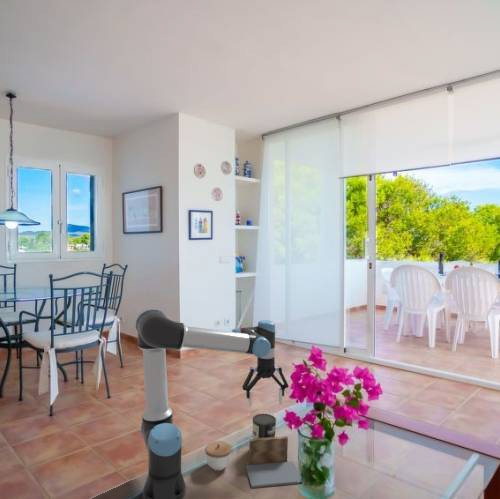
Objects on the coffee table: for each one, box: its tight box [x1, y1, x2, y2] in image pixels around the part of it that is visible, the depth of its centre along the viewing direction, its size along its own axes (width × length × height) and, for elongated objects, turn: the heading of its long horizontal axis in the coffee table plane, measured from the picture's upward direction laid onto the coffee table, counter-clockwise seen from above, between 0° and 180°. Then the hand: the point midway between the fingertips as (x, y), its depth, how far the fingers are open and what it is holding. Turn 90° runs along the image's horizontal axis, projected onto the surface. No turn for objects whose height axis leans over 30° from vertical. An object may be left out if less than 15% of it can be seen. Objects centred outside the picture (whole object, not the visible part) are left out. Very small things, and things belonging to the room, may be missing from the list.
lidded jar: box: [204, 440, 233, 472], centre depth 163 cm, size 11×11×9 cm
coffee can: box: [251, 413, 277, 439], centre depth 175 cm, size 10×10×14 cm
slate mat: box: [245, 461, 299, 489], centre depth 158 cm, size 20×13×1 cm, turn 101°
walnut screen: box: [248, 435, 289, 465], centre depth 166 cm, size 16×2×10 cm, turn 101°
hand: (265, 404), depth 175 cm, fingers open, 13 cm apart
